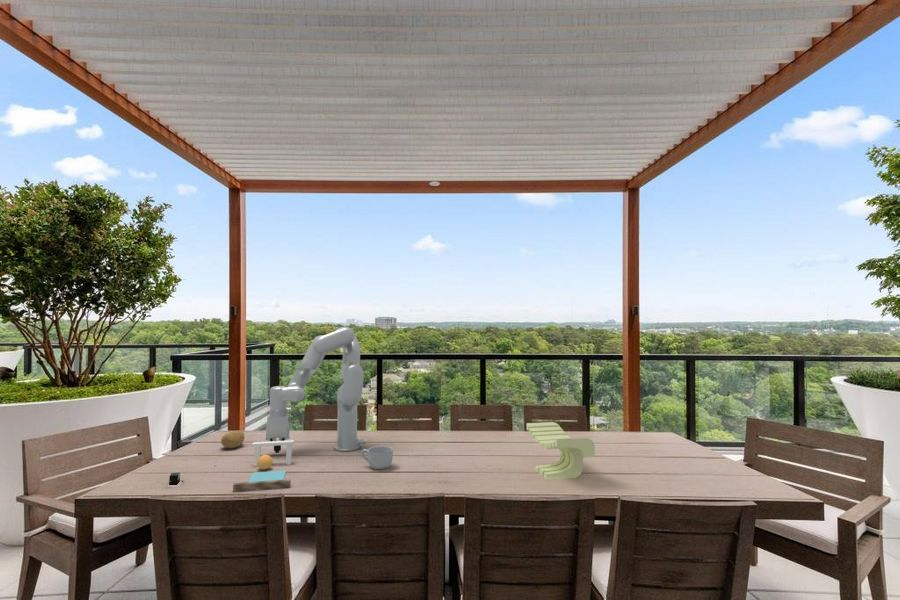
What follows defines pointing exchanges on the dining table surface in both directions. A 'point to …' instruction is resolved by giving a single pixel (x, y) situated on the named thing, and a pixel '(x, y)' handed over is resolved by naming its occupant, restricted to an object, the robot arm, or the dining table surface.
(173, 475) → the black angular piece
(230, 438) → the potato
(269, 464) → the ball
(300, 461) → the dining table surface
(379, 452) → the teacup
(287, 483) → the stopper
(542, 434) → the green ribbed curved stand
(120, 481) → the dining table surface
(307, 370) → the robot arm
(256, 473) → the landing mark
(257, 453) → the bridge
